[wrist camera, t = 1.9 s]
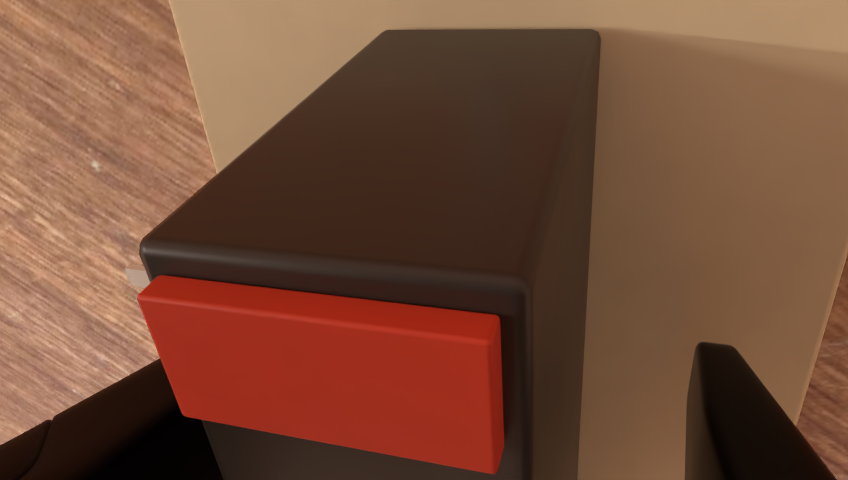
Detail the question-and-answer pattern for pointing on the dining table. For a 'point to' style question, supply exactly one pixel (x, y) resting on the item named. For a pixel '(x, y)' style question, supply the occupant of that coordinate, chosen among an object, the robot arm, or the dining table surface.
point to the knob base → (625, 178)
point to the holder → (394, 268)
